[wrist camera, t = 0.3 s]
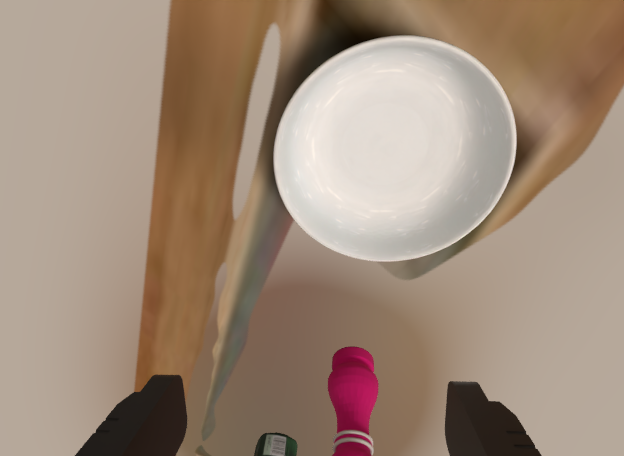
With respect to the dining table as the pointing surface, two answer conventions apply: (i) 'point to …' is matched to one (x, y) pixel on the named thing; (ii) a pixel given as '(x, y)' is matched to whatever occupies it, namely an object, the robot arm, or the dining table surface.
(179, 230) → the dining table surface
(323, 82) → the serving bowl
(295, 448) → the green labelled bottle
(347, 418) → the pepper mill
